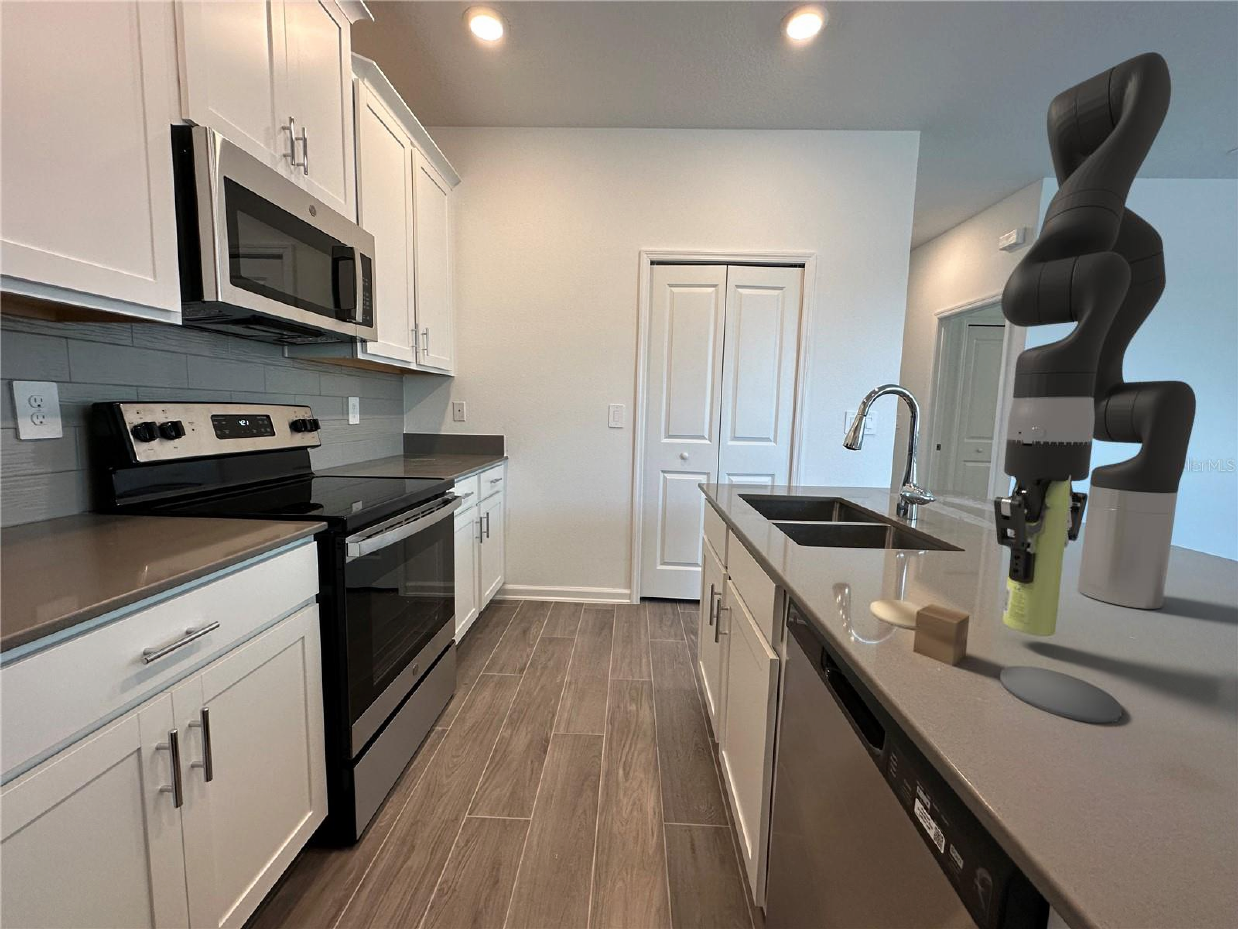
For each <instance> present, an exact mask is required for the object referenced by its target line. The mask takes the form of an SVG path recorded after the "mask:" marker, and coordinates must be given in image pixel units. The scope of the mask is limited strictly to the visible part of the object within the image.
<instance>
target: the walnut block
mask: <svg viewBox="0 0 1238 929" xmlns="http://www.w3.org/2000/svg"><path fill="white" fill-rule="evenodd" d="M925 606H926V607H924V608H922V609H920V610H918V611H917V614H916V626H915V630H914V641H913V653H916V654H919V655H921V656H923V657H924V656H925V657H927V658H930V659H933V660H934V661H937V662H940V663H943V664H946V665H948V666H951V667H952V666H954V665H955V664H957V663H958V662H960V661H961V660H962V659H963V657H964V658H965V657H966V656H967V646H968V635H969V623H970V614H967V613H964V612H961V611H957V610H954V609H950V608H948V607H943V606H940V605H938V604H933V603H930V604H928V605H925Z"/></svg>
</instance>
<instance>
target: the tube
mask: <svg viewBox="0 0 1238 929" xmlns="http://www.w3.org/2000/svg"><path fill="white" fill-rule="evenodd" d="M1070 480H1071V475H1070V476H1069V479H1068V480H1066V481H1052V482H1051V483H1050V485H1049V487H1048V489H1047V492H1046V494H1045V495H1046V497H1045V502H1046V505H1047V506H1048V507H1050V509H1049V510H1048V511H1047V517H1046V524H1045V526H1046V527H1045V533H1044V534H1042V535H1040V536H1039V541H1038V544H1037V548H1036V551H1035V552H1034V553H1036V558H1035V568H1034V578H1033V582H1032V583H1029V584H1024V583H1020V582H1017V581H1013V580H1011V579H1010V578H1009V571H1008V574H1007V581H1006V582H1007V583H1006V587H1005V588H1006V590H1005V591H1006V592H1005V598H1004V604H1003V606H1004V607H1003V615H1002V622H1003V623H1004V624H1005V625H1006V626H1007V627H1009V628H1010V629H1012V630H1015V631H1018V632H1020V633H1024V634H1027V635H1032V636H1038V637H1050V636H1053V635H1055V633H1056V627H1057V618H1058V612H1059V611H1058V609H1059V602H1060V601H1059V600H1060V591H1061V583H1062V582H1061V581H1062V571H1063V560H1064V552H1065V548H1064V544H1065V534H1066V524H1067V514H1068V504H1069V493H1070ZM1042 507H1043V506H1042ZM1037 523H1038V522H1036V523H1030V522H1026V524H1027V525H1036V524H1037ZM1026 535H1027V540H1028V537H1029V532H1026ZM1008 565H1009V566H1010V563H1009V564H1008Z"/></svg>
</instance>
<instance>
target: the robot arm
mask: <svg viewBox="0 0 1238 929" xmlns="http://www.w3.org/2000/svg"><path fill="white" fill-rule="evenodd" d="M1171 95H1172V84H1171V75H1170V70H1169V67H1168V64H1167V61H1166V59H1165V58H1164V57H1163V55H1161V54H1160V53H1158V52H1145V53H1142V54H1139V55H1135V56H1134V57H1131V58H1129V59H1126V60H1124V61H1123V62H1121V63H1119V64H1116V65H1114V66H1111V67H1110V68H1109V69H1106V70H1103V71H1102V72H1100V73H1098V74H1096V75H1094V76H1092V77H1091V78H1089V79H1086V80H1084V81H1081V82H1079V83H1077V84H1076V85H1073V86H1072V87H1069V88H1067V89H1066V90H1064V91H1062V92H1061V93H1059V94H1056V96H1055V97H1054V98H1053V99H1052V100H1051V102H1050V104H1049V105H1048V106H1049V107H1048V108H1047V109H1048V110H1047V115H1046V131H1047V139H1048V140H1047V141H1048V146H1049V149H1050V155H1051V159H1052V160H1051V161H1052V164H1053V169H1054V173H1055V178H1056V182H1057V187H1058V190H1057V191H1056V192H1055V194H1054V196H1053V198H1052V199H1051V201H1050V203H1049V204H1048V207H1047V209H1046V212H1045V215H1044V218H1043V222H1042V225H1041V227H1040V228H1041V229H1040V232H1039V235H1038V238H1037V239H1036V240H1035V242H1034V244H1032V246H1031V247H1030V249H1029V250H1028V251H1027V253H1026V254H1025V255H1024V257H1023V258H1022V259H1021V260H1020V262H1019V263H1017V265H1016V266H1015V268H1014V269H1013V271H1012V272H1011V274H1010V276H1009V277H1008V279H1007V280H1006V282H1005V283H1006V284H1005V285H1004V288H1003V291H1002V294H1001V299H1000V302H1001V303H1000V304H1001V310H1002V314H1003V316H1004V317H1005V319H1006V320H1007V322H1009V323H1011V324H1012V325H1014V326H1017V327H1019V328H1020V327H1022V328H1029V327H1041V326H1049V325H1059V324H1069V323H1077V324H1076V325H1075V328H1074V329H1073V330H1072V331H1071V332H1070V333H1069V334H1068V335H1067V336H1066V337H1065V336H1064V338H1062V339H1059V340H1057V341H1055V342H1054V341H1053V342H1051V343H1046V344H1042V345H1037V346H1034V347H1030V348H1028V349H1025V350H1023V351H1022V352H1021V353H1019V354H1018V356H1017V359H1016V362H1015V372H1014V380H1013V381H1014V383H1013V395H1012V398H1013V399H1012V401H1011V402H1012V403H1011V407H1010V411H1009V415H1008V421H1007V431H1006V443H1005V444H1006V445H1005V452H1004V454H1005V457H1004V468H1003V473H1004V474H1005V475H1006V476H1009V477H1013V478H1014V479H1015V483H1014V486H1013V489H1012V492H1011V495H1010V496H1008V497H1002V496H996V497H995V498H994V501H993V507H994V508H993V509H994V519H995V520H994V521H995V529H996V530H995V531H996V539H997V540H996V542H997V544H998V545H1001V546H1005V547H1007V548H1008V549H1010V556H1009V564H1010V566H1009V567H1008V572H1009V578H1010V579H1011V580H1013V581H1017V582H1020V583H1024V584H1029V583H1032V582H1033V578H1034V568H1035V558H1036V553H1034V552H1035V551H1036V548H1037V544H1038V541H1039V536H1040V535H1042V534H1044V533H1045V527H1046V526H1045V524H1046V517H1047V511H1048V510H1049V509H1050V507H1048V506H1047V505H1046V502H1045V497H1046V495H1045V494H1046V492H1047V489H1048V487H1049V485H1050V483H1051V482H1052V481H1066V480H1068V479H1069V476H1070V475H1071V480H1070V493H1069V504H1068V514H1067V524H1066V534H1065V544H1064V549H1066V548H1067V547H1069V542H1070V541H1073V542H1076V541H1077V539H1078V538H1079V532H1080V529H1081V526H1082V522H1083V518H1084V514H1085V510H1086V514H1085V515H1086V516H1085V524H1084V532H1083V540H1082V541H1083V542H1082V549H1081V556H1080V557H1081V558H1080V568H1079V576H1078V584H1077V591H1078V592H1079V593H1081V594H1083V595H1085V596H1086V597H1089V598H1092V599H1095V600H1098V601H1101V602H1105V603H1109V604H1115V605H1119V606H1123V607H1130V608H1135V609H1136V608H1137V609H1149V610H1150V609H1160V608H1162V607H1163V605H1164V604H1163V603H1164V596H1165V590H1166V582H1167V575H1168V568H1169V559H1170V554H1171V546H1172V539H1173V530H1174V523H1175V516H1176V509H1177V508H1176V506H1177V500H1178V494H1179V493H1178V492H1179V487H1180V482H1181V479H1182V476H1183V472H1184V469H1185V466H1186V462H1187V461H1186V460H1187V455H1188V450H1189V444H1190V440H1191V436H1192V431H1193V428H1194V423H1195V416H1196V410H1197V400H1196V393H1195V392H1194V390H1193V387H1192V386H1190V385H1189V384H1188V383H1187V382H1184V381H1181V380H1152V381H1150V380H1149V381H1146V380H1145V381H1127V382H1126V381H1124V376H1123V373H1124V372H1123V368H1124V367H1123V365H1124V364H1123V363H1124V358H1125V354H1126V351H1127V349H1128V347H1129V345H1130V343H1131V342H1132V340H1133V339H1134V337H1135V335H1136V334H1137V333H1138V331H1139V329H1140V328H1141V326H1142V325H1143V324H1144V323H1145V321H1146V320H1147V318H1148V317H1149V316H1150V315H1151V313H1152V312H1153V310H1154V308H1155V307H1156V305H1157V304H1158V303H1159V301H1160V300H1161V297H1162V296H1163V294H1164V291H1165V289H1166V284H1167V280H1166V279H1167V278H1166V277H1167V276H1166V264H1165V255H1164V254H1165V252H1164V242H1163V239H1162V237H1161V235H1160V233H1159V231H1157V230H1156V228H1155V227H1154V226H1152V224H1150V223H1149V222H1148V221H1147V220H1145V218H1143V217H1141V216H1140V215H1139V214H1137V213H1135V211H1133V210H1131V209H1130V208H1128V207H1127V206H1126V202H1127V199H1128V196H1129V193H1130V191H1131V187H1132V185H1133V183H1134V180H1135V179H1136V176H1137V174H1138V173H1139V170H1140V169H1141V167H1142V165H1143V163H1144V161H1145V160H1146V158H1147V157H1148V154H1149V152H1150V150H1151V148H1152V146H1153V144H1154V143H1155V142H1154V141H1156V140H1155V139H1156V138H1157V136H1158V134H1159V132H1160V130H1161V128H1162V126H1163V124H1164V121H1165V119H1166V118H1167V117H1166V116H1167V115H1168V111H1169V107H1170V104H1171V103H1170V102H1171ZM1093 440H1095V441H1099V442H1105V443H1120V444H1121V443H1122V444H1139V445H1140V444H1141V447H1140V450H1139V451H1138V453H1137V454H1136V455H1134V456H1132V457H1131V458H1128V459H1126V460H1123V461H1120V462H1116V463H1110V464H1104V465H1099V466H1096V467H1095V468H1093V469H1092V471H1091V474H1090V470H1091V469H1090V468H1091V467H1090V466H1091V460H1092V459H1091V458H1092V449H1093ZM1089 475H1090V479H1089V489H1088V493H1087V492H1082V491H1081V492H1080V491H1073V490H1074V489H1073V485H1072V482H1080V481H1081V482H1082V481H1085V480H1087V479H1088V477H1089ZM1042 506H1043V507H1042ZM1026 522H1030V523H1036V522H1038V523H1037V524H1036V525H1027V524H1026ZM1009 530H1010V531H1009ZM1008 531H1009V534H1008ZM1026 532H1029V537H1028V540H1027V535H1026Z"/></svg>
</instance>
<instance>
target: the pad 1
mask: <svg viewBox="0 0 1238 929" xmlns="http://www.w3.org/2000/svg"><path fill="white" fill-rule="evenodd" d="M926 606H927V605H923V604H920V603H915V602H912V601H907V600H906V601H905V600H900V599H879V600H875V601H873V602H871V604H870V608H869V609H870V610H869V611H870V613H871V615H873V616H874V617H876V619H878V620H881V621H883V622H885V623H887V624H890V625H893V626H895V627H898V628H899V627H900V628H903V629H904V628H905V629H909V630H914V631H915V626H916V614H917V611H918V610H920V609H922V608H924V607H926Z"/></svg>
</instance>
